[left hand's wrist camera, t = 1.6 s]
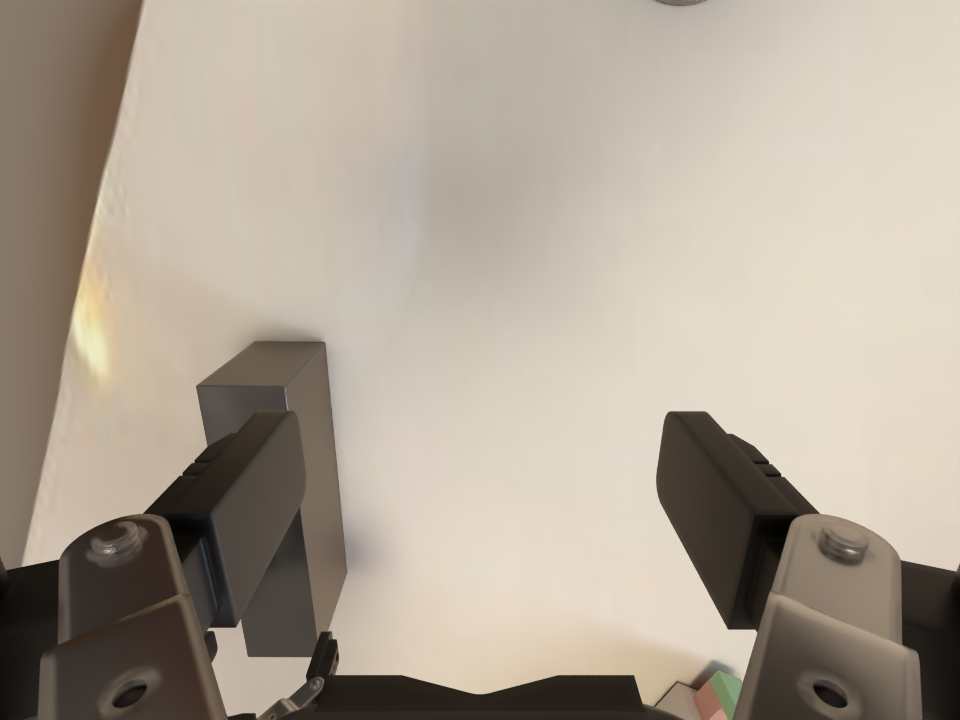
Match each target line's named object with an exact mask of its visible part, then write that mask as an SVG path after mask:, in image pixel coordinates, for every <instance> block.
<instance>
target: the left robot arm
mask: <svg viewBox="0 0 960 720" xmlns="http://www.w3.org/2000/svg"><path fill="white" fill-rule="evenodd" d="M658 1H660V2H663V3H666V4H671V5H692V4H697V3H700V2H703V1H706V0H658ZM656 485H657V492H658V497H659V500H660V503H661V505H662V507H663V509H664V510H665V512H666V514H667V516H668V518H669V520H670V522H671V524H672V525H673V527H674V529H675V531H676V533H677V535H678V537H679V539H680V540H681V542H682V544H683V546H684V548H685V550H686V552H687V553H688V555H689V557H690V559H691V561H692V563H693V565H694V567H695V568H696V570H697V572H698V574H699V576H700V578H701V580H702V582H703V583H704V585H705V587H706V589H707V591H708V593H709V595H710V596H711V598H712V600H713V602H714V604H715V606H716V608H717V610H718V611H719V613H720V615H721V617H722V619H723V621H724V623H725V625H726V626H727V628H728V629H755V630H756V631H757V637H756V640H755V644H754V647H753V650H752V654H751V657H750V660H749V664H748V667H747V671H746V674H745V677H744V681H743V684H742V688H741V691H740V694H739V698H738V701H737V705H736V708H735V711H734V715H733V718H732V720H960V564H959V567H958V569H957V571H956V572H955V571H950V570H946V569H941V568H936V567H931V566H926V565H921V564H916V563H911V562H907V561H902V560H900V557H899V555H898V553H897V552H896V551H895V549H894V548H893V547H892V546H891V545H890V544H889V543H888V542H887V541H886V540H884V539H883V538H882V537H881V536H879V535H878V534H876V533H874V532H873V531H871V530H869V529H867V528H865V527H864V526H861V525H859V524H857V523H854V522H852V521H849V520H846V519H843V518H839V517H835V516H830V515H823V514H820V513H819V512H818V511H817V510H816V509H815V508H814V507H813V506H812V505H811V504H810V503H809V502H808V501H807V500H806V499H805V498H804V497H803V496H802V495H801V494H800V493H799V492H798V491H797V490H796V489H795V488H794V487H793V486H792V484H791V483H790V482H789V481H788V480H787V479H786V478H785V477H781V473H780V472H779V471H778V470H777V469H776V468H775V467H774V466H773V465H772V464H769V461H768V460H767V459H766V458H765V457H764V456H763V455H762V454H761V453H760V452H759V451H758V450H757V449H756V448H755V447H754V446H753V445H751V444H749V443H747V442H746V441H744V440H742V439H740V438H739V437H737V436H735V435H733V434H727V433H726V432H725V431H724V430H723V429H722V428H721V427H720V426H719V425H718V424H717V422H716V421H715V420H714V419H713V418H712V417H711V416H710V415H709V414H708V413H707V412H704V411H670V412H668V413H667V415H666V417H665V420H664V426H663V433H662V440H661V446H660V453H659V460H658V467H657V475H656ZM305 490H306V469H305V462H304V455H303V448H302V440H301V433H300V426H299V420H298V417H297V414H296V413H295V412H294V411H256V412H255V413H254V414H253V415H252V416H251V417H250V419H249V420H248V421H247V422H246V423H245V424H244V425H243V426H242V427H241V428H240V430H239V431H238V432H237V433H230V434H228V435H227V436H225V437H223V438H221V439H220V440H218V441H216V442H214V443H213V444H211V445H209V446H208V447H207V448H206V449H205V450H204V451H203V452H202V453H201V454H200V455H199V456H198V457H197V458H196V459H195V463H192V464H191V465H190V466H189V467H188V468H187V469H186V470H185V471H184V472H183V475H182V476H179V477H178V478H177V479H176V480H175V481H174V482H173V483H172V484H171V485H170V486H169V487H168V488H167V489H166V490H165V492H164V493H163V494H162V495H161V496H160V497H159V498H158V499H157V500H156V501H155V502H154V503H153V504H152V505H151V506H150V507H149V508H148V509H147V510H146V511H145V512H144V513H143V514H137V515H130V516H125V517H121V518H117V519H114V520H111V521H108V522H106V523H103V524H101V525H99V526H96V527H95V528H93V529H91V530H89V531H87V532H86V533H84V534H82V535H81V536H79V537H78V538H77V539H76V540H74V541H73V542H72V543H71V544H70V545H69V546H68V547H67V548H66V549H65V551H64V552H63V553H62V555H61V557H60V559H59V560H55V561H50V562H45V563H40V564H35V565H30V566H25V567H20V568H16V569H11V570H6V569H5V567H4V564H3V562H2V560H1V557H0V720H228V718H227V715H226V711H225V708H224V705H223V701H222V698H221V694H220V691H219V688H218V684H217V681H216V677H215V674H214V671H213V667H212V664H211V660H210V657H209V654H208V650H207V647H206V644H205V640H204V635H205V633H206V632H207V630H208V628H236V626H237V624H238V623H239V621H240V619H241V617H242V615H243V613H244V611H245V609H246V607H247V606H248V604H249V602H250V600H251V598H252V596H253V594H254V592H255V590H256V589H257V587H258V585H259V583H260V581H261V579H262V577H263V575H264V573H265V571H266V570H267V568H268V566H269V564H270V562H271V560H272V558H273V556H274V554H275V553H276V551H277V549H278V547H279V545H280V543H281V541H282V539H283V537H284V536H285V534H286V532H287V530H288V528H289V526H290V524H291V522H292V520H293V518H294V517H295V515H296V513H297V511H298V509H299V507H300V505H301V503H302V501H303V498H304V495H305ZM276 720H684V719H682V718H680V717H678V716H676V715H674V714H672V713H669V712H667V711H664V710H661V709H659V708H656V707H653V706H650V705H646V704H643V703H642V701H641V697H640V694H639V691H638V687H637V684H636V681H635V677H634V675H558V676H554V677H550V678H546V679H542V680H538V681H535V682H531V683H527V684H523V685H519V686H515V687H512V688H508V689H504V690H500V691H496V692H492V693H488V694H472V693H468V692H464V691H460V690H456V689H452V688H448V687H445V686H441V685H437V684H433V683H429V682H425V681H422V680H418V679H414V678H410V677H406V676H402V675H326V677H325V681H324V684H323V687H322V691H321V694H320V697H319V701H318V703H317V704H314V705H310V706H307V707H304V708H301V709H299V710H296V711H293V712H291V713H288V714H286V715H284V716H282V717H280V718H278V719H276Z"/></svg>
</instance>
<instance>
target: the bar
mask: <svg viewBox="0 0 960 720" xmlns="http://www.w3.org/2000/svg"><path fill="white" fill-rule="evenodd" d="M196 388H197V393H198V398H199V404H200V409H201V414H202V419H203V425H204V430H205V435H206V440H207V445H208V446H209V445H211V444H213V443H214V442H216V441H218V440H220V439H221V438H223V437H225V436H227V435H228V434H230V433H237V432H238V431H239V430H240V428H241V427H242V426H243V425H244V424H245V423H246V422H247V421H248V420H249V419H250V417H251V416H252V415H253V414H254V413H255V412H256V411H294V412H295V413H296V414H297V417H298V420H299V426H300V433H301V440H302V448H303V455H304V462H305V469H306V490H305V495H304V498H303V501H302V503H301V505H300V507H299V509H298V511H297V513H296V515H295V517H294V518H293V520H292V522H291V524H290V526H289V528H288V530H287V532H286V534H285V536H284V537H283V539H282V541H281V543H280V545H279V547H278V549H277V551H276V553H275V554H274V556H273V558H272V560H271V562H270V564H269V566H268V568H267V570H266V571H265V573H264V575H263V577H262V579H261V581H260V583H259V585H258V587H257V589H256V590H255V592H254V594H253V596H252V598H251V600H250V602H249V604H248V606H247V607H246V609H245V611H244V613H243V615H242V617H241V622H242V628H243V633H244V638H245V643H246V648H247V654H248V657H312V656H313V653H314V650H315V647H316V644H317V641H318V638H319V635H320V633H321V631H328V629H329V626H330V623H331V620H332V617H333V614H334V611H335V608H336V605H337V602H338V599H339V596H340V593H341V590H342V587H343V583H344V580H345V577H346V574H347V568H346V557H345V547H344V536H343V526H342V516H341V505H340V495H339V484H338V474H337V463H336V453H335V443H334V432H333V422H332V411H331V401H330V391H329V380H328V370H327V359H326V349H325V343H324V342H254V343H252V344H251V345H250V346H248V347H247V348H246V349H244V350H243V351H242V352H240V353H239V354H238V355H236V356H235V357H234V358H232V359H231V360H230V361H228V362H227V363H226V364H224V365H223V366H222V367H220V368H219V369H218V370H216V371H215V372H214V373H212V374H211V375H210V376H209V377H207V378H206V379H205V380H203V381H202V382H201V383H199V384H198V385H197V386H196Z"/></svg>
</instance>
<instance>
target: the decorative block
mask: <svg viewBox="0 0 960 720" xmlns="http://www.w3.org/2000/svg"><path fill="white" fill-rule="evenodd" d="M742 684H743V683H742V682H741V680H740V679H738V678H736V677H733V676H731V675H729V674H726V673H724V672H722V671H719V670H717V671H716V672H715V674H714V675H713V676H712V677H711V678H710V679H709V680H708V681H707V682H706V683H705V684H704V685H703V686H702V687H701V688H700V690H699V691H697V690H695V689H692V688H690V687H687V686H685V685H682V684H680V683H677V684H676V685H675V686H674V687H673V688H672V689H671V690H670V691H669V693H668V694H667V695H666V696H665V697H664V698H663V699H662V700H661V701H660V702H659V704H658V705H657V706H656V708H659V709H661V710H664V711H667V712H669V713H672V714H674V715H676V716H678V717H680V718H682V719H684V720H732V718H733V715H734V711H735V708H736V705H737V701H738V698H739V694H740V691H741V688H742Z"/></svg>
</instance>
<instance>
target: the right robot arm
mask: <svg viewBox="0 0 960 720" xmlns="http://www.w3.org/2000/svg"><path fill="white" fill-rule="evenodd" d="M204 640H205V644H206V647H207V650H208V654H209V657H210V660H211V663H212V661H213V659H214V658H215V656H216V653H217V642H216V638H215V633H214V631H207V632H206V633H205V635H204ZM338 663H339V653H338V645H337V639H333V638H332V632H331V631H321V633H320V635H319V638H318V641H317V644H316V647H315V650H314V653H313V656H312V659H311V662H310V665H309V668H308V671H307V674H306V679H307V682H306V683H305V684H304V685H303V686H302V687H301V688H300V689H298V690H297V691H296V692H295V693H294V694H293V695H292V696H290V697H289V698H288V699H284V698H283V699H280V700H279V701H277V702H276V703H275V704H274V705H273V706H272V707H270V708H269V709H268V710H267V711H266V712H265V713H263V714H262V715H261V716H260V717H259V718H258V719H257V718H256V714H255V713H243V714H238V715H234V716H230V717H228V716H227V718H228V720H276V719H278V718H280V717H282V716H284V715H286V714H288V713H291V712H293V711H296V710H299V709H301V708H304V707H307V706H310V705H314V704H317V703H318V701H319V697H320V694H321V691H322V687H323V684H324V681H325V677H326V675H335V673H336V670H337V666H338Z"/></svg>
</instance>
